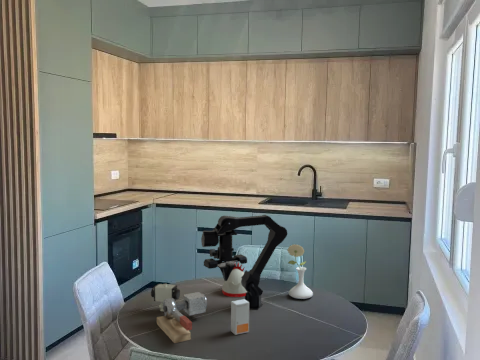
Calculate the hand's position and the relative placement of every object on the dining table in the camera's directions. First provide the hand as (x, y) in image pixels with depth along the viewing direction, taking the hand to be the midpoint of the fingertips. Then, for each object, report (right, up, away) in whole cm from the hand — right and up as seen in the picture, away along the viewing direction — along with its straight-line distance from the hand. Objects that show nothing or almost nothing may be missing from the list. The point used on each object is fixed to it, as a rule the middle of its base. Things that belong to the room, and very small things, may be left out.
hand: (225, 280), depth 194 cm
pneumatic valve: (-26, -13, 0) cm, 29 cm away
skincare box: (+6, -15, -22) cm, 27 cm away
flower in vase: (+34, -12, +18) cm, 40 cm away
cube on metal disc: (-12, -11, -9) cm, 19 cm away
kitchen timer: (+5, -11, +24) cm, 27 cm away
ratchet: (-15, -12, -20) cm, 28 cm away
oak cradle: (-20, -15, -21) cm, 32 cm away
